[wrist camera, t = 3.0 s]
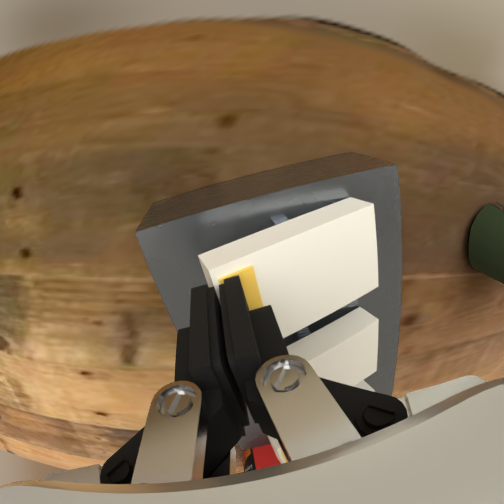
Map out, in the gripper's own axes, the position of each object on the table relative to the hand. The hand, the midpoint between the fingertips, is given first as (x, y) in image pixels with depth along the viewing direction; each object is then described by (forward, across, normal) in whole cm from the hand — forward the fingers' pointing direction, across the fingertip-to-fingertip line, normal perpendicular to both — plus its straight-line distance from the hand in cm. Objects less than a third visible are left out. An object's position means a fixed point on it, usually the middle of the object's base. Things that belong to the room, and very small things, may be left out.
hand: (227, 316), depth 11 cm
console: (+8, -3, +6) cm, 11 cm away
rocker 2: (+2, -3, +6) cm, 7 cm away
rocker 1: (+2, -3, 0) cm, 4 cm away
